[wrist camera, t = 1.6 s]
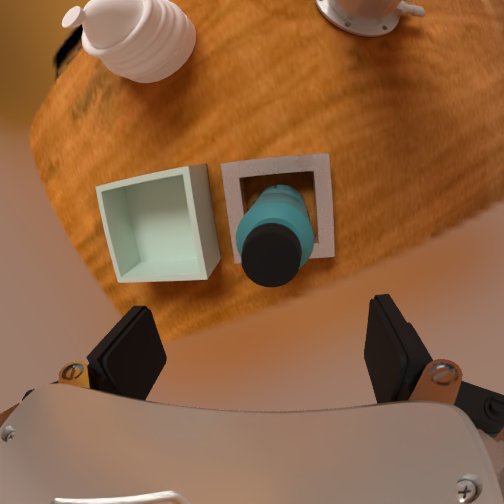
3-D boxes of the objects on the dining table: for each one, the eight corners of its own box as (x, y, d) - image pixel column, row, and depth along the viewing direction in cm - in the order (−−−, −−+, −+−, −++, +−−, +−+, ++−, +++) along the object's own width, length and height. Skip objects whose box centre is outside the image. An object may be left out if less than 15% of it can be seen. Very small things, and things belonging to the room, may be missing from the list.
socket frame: (325, 153, 33) (328, 153, 30) (331, 249, 37) (334, 256, 34) (226, 163, 35) (220, 163, 32) (238, 255, 39) (234, 263, 36)
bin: (206, 163, 35) (188, 166, 29) (220, 258, 40) (207, 279, 33) (123, 180, 37) (95, 186, 31) (140, 264, 42) (118, 282, 35)
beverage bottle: (308, 226, 36) (328, 300, 18) (260, 233, 38) (232, 311, 19) (301, 177, 34) (317, 203, 16) (251, 186, 36) (209, 221, 17)
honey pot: (160, 97, 33) (76, 70, 16) (107, 66, 31) (26, 42, 14) (214, 28, 28) (164, -39, 11) (154, 4, 27) (92, -46, 10)
